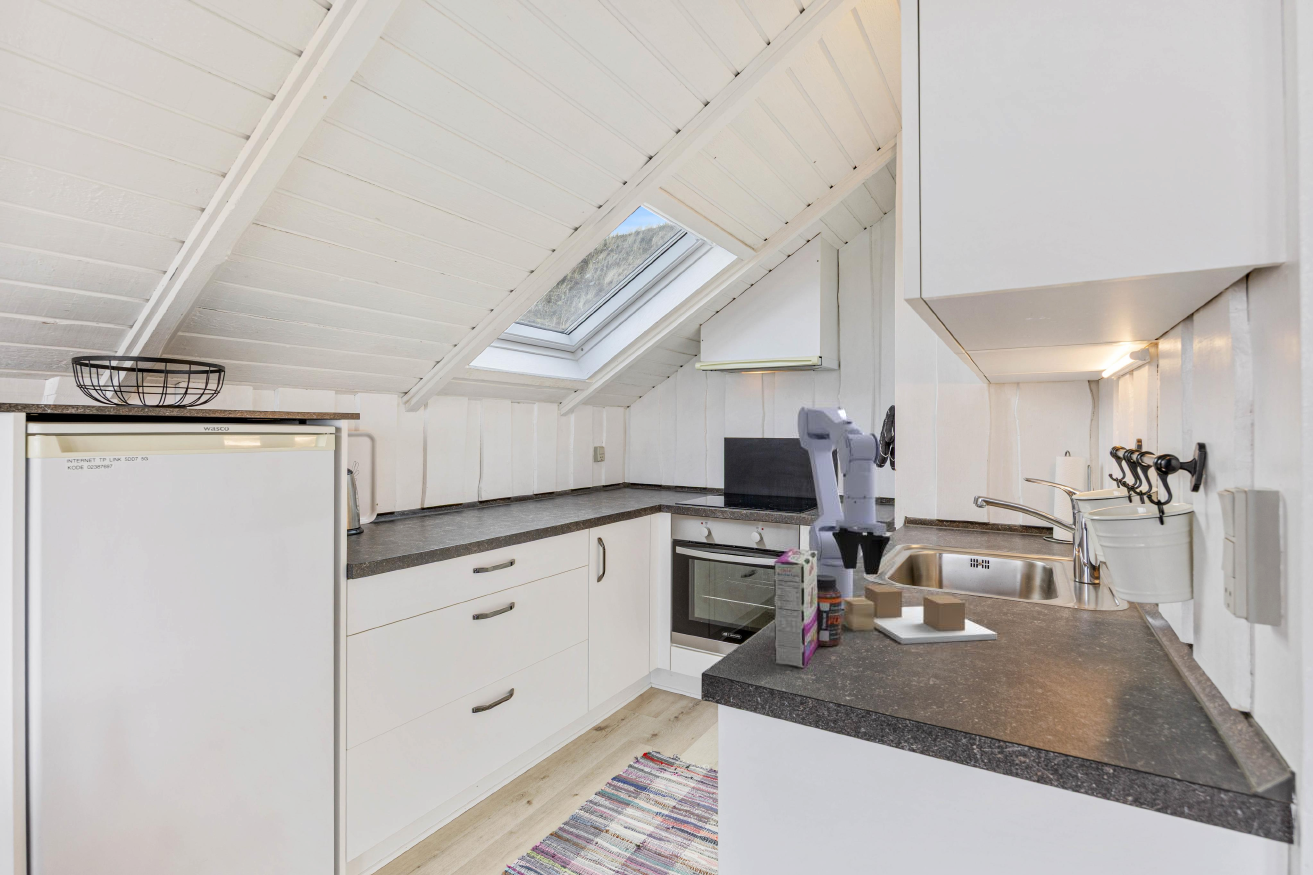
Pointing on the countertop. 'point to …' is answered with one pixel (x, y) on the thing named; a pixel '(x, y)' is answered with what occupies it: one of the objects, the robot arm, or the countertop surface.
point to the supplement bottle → (828, 611)
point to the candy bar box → (795, 607)
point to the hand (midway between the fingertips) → (860, 571)
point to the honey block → (859, 614)
